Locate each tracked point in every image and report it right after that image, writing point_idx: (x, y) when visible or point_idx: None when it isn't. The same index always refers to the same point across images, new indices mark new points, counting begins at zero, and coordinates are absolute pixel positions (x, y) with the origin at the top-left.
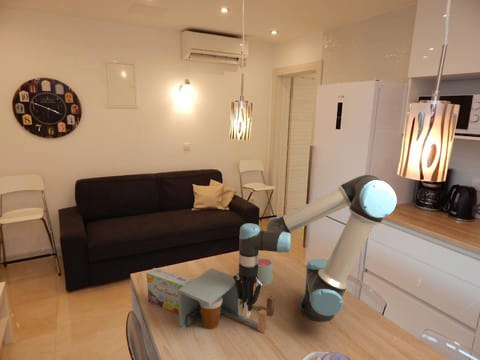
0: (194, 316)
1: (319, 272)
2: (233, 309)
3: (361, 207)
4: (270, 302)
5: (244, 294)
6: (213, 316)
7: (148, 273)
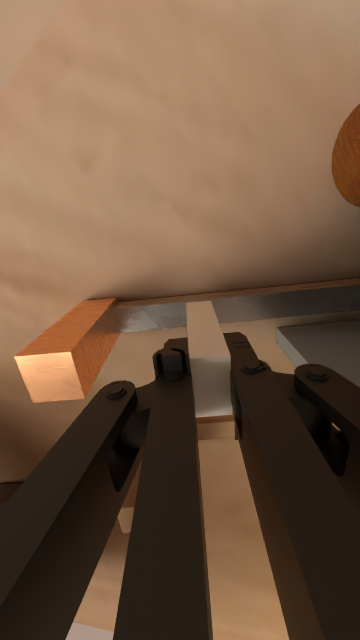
0: None
1: None
2: (319, 334)
3: None
4: (132, 482)
5: (262, 447)
6: None
7: None
